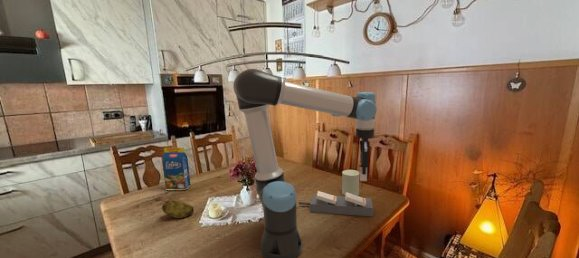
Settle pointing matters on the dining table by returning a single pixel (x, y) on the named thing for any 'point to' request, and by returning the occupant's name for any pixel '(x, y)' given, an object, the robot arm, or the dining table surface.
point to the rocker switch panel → (340, 207)
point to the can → (350, 182)
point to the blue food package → (175, 168)
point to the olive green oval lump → (177, 208)
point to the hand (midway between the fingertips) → (363, 180)
